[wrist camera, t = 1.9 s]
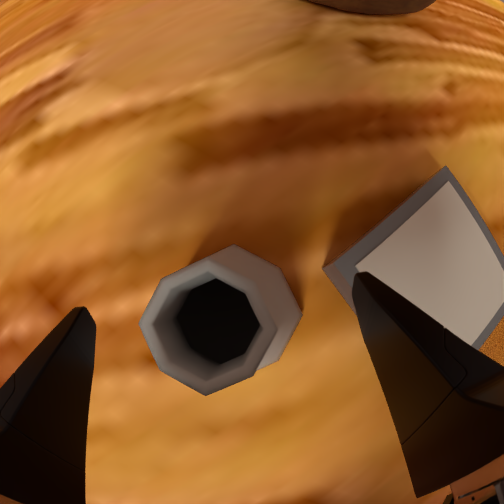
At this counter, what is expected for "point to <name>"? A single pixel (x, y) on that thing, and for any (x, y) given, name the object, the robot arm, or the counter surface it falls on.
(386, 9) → the ceramic pitcher
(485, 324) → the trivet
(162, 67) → the counter surface
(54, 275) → the counter surface
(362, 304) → the robot arm
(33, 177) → the counter surface
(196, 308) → the flask
